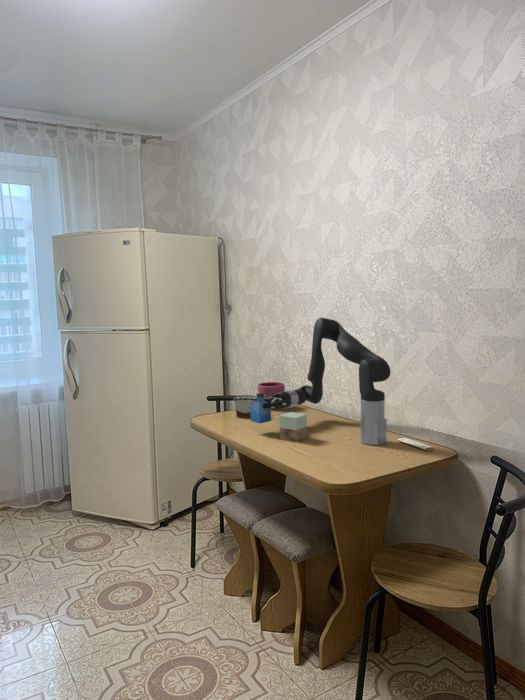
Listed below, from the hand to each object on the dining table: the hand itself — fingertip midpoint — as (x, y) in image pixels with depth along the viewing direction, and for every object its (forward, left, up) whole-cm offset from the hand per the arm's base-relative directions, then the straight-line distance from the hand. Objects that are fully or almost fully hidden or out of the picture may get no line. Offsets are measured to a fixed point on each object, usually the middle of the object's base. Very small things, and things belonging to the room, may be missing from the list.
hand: (258, 405), depth 218 cm
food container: (+28, -17, -12) cm, 36 cm away
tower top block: (-16, -5, -7) cm, 18 cm away
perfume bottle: (0, -1, -7) cm, 7 cm away
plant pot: (+33, -38, -12) cm, 52 cm away
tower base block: (-16, -5, -12) cm, 21 cm away
